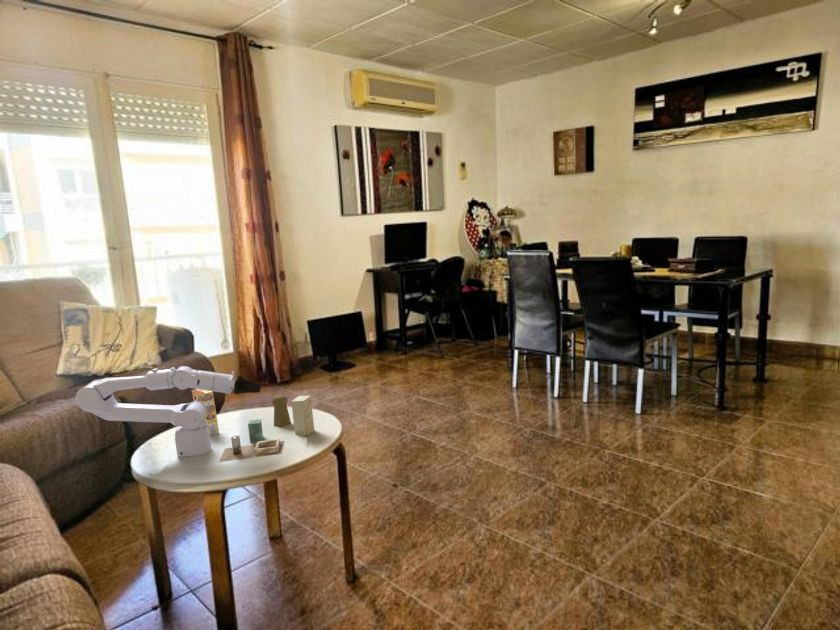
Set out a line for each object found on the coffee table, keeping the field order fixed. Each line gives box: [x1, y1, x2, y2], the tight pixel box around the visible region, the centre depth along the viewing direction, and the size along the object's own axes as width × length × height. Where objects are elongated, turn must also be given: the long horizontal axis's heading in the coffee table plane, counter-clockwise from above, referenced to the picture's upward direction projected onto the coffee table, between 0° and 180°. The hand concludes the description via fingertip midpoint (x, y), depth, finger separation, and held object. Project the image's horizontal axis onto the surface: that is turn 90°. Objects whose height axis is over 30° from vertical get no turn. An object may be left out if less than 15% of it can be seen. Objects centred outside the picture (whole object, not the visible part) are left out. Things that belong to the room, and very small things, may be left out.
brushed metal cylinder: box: [230, 435, 242, 455], centre depth 163 cm, size 2×2×5 cm
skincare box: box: [290, 395, 315, 438], centre depth 178 cm, size 6×4×12 cm
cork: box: [271, 394, 292, 428], centre depth 186 cm, size 6×6×11 cm
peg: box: [247, 418, 264, 443], centre depth 173 cm, size 4×4×7 cm
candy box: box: [191, 388, 220, 436], centre depth 184 cm, size 9×4×15 cm, turn 44°
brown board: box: [218, 438, 285, 463], centre depth 164 cm, size 18×10×2 cm, turn 100°
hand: (260, 388), depth 169 cm, fingers open, 7 cm apart
